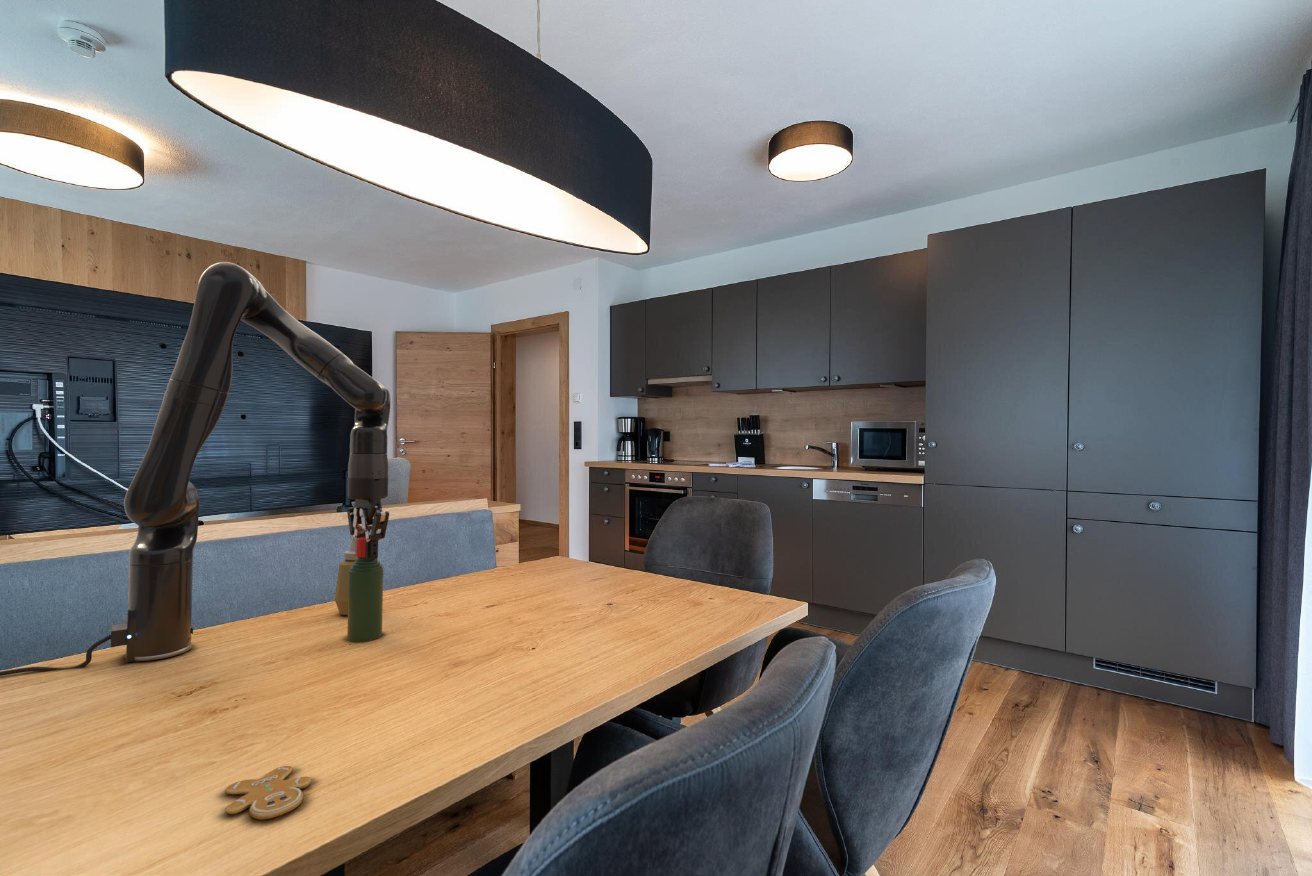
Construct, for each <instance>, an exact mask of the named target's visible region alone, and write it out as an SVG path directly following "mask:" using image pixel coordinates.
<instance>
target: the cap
mask: <svg viewBox="0 0 1312 876" xmlns="http://www.w3.org/2000/svg"><path fill="white" fill-rule="evenodd" d="M366 542H367V541H366V537H359V538H356V557H366Z"/></svg>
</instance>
